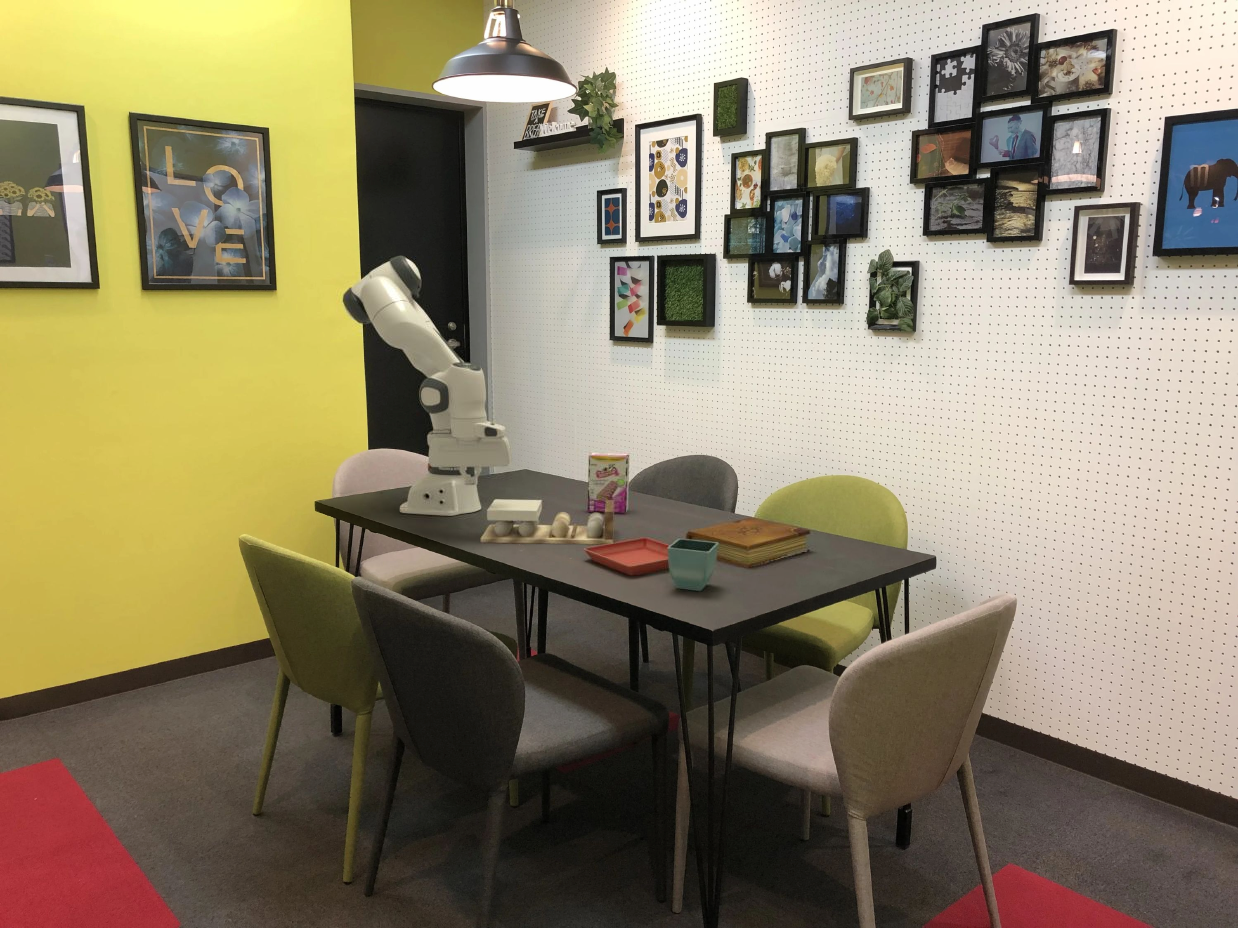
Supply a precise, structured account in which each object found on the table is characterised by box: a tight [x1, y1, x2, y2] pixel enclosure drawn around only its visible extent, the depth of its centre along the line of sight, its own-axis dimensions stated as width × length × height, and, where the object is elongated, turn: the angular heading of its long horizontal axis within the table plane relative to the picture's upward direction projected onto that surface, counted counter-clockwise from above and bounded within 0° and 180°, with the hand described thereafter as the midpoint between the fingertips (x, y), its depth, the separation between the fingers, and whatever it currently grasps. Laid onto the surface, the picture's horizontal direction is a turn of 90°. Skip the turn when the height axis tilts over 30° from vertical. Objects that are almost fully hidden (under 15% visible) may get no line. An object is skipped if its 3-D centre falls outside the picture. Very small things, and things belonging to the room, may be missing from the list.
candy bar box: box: [587, 452, 630, 514], centre depth 261 cm, size 11×5×16 cm, turn 84°
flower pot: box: [667, 538, 719, 592], centre depth 190 cm, size 9×9×9 cm
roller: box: [551, 511, 571, 538], centre depth 232 cm, size 4×11×4 cm, turn 179°
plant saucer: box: [583, 537, 671, 576], centre depth 208 cm, size 18×18×3 cm
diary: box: [685, 517, 811, 569], centre depth 220 cm, size 23×19×6 cm
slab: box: [486, 499, 543, 522], centre depth 232 cm, size 12×13×2 cm
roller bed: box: [480, 500, 615, 545], centre depth 232 cm, size 32×15×8 cm, turn 89°
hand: (471, 484), depth 230 cm, fingers closed
